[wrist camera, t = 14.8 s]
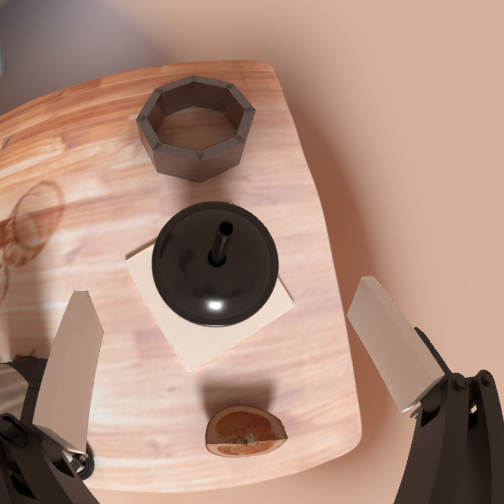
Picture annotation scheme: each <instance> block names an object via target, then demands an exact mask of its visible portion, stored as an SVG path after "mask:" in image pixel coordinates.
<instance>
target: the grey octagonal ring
mask: <svg viewBox="0 0 504 504" xmlns="http://www.w3.org/2000/svg"><path fill="white" fill-rule="evenodd" d="M190 106H198V107H203V108H207V109H212V110H216V111H221V112H223V113H224V114H225V115H226V117H227V118H228V119H229V121H230V122H231V123H232V125H233V126H234V127H235V129H236V130H237V134H236V137H233V138H231V139H228V140H226V141H223V142H221V143H218V144H216V145H213V146H211V147H209V148H206V149H204V150H202V151H196V150H191V149H187V148H182V147H178V146H173V145H168V144H164V143H161V142H160V141H159V139H158V137H157V135H156V134H155V133H156V131H157V129H158V128H159V126H160V124H161V122H162V120H163V118H164V117H165V116H167V115H170V114H172V113H175V112H177V111H180V110H182V109H185V108H188V107H190ZM254 113H255V109H254V108H253V107H252V105H251V104H250V103H249V102H248V101H247V99H246V98H245V97H244V96H243V95H242V94H241V92H240V91H239V90H238V89H237V88H236V87H235V86H234V84H232V83H227V82H223V81H218V80H213V79H208V78H203V77H198V76H191V77H188V78H185V79H182V80H179V81H176V82H173V83H170V84H168V85H165V86H162V87H159V88H157V89H155V90H154V91H153V93H152V94H151V96H150V98H149V99H148V101H147V102H146V104H145V105H144V107H143V109H142V110H141V112H140V114H139V115H138V117H137V119H136V121H137V125H138V129H139V133H140V137H141V140H142V143H143V145H144V147H145V149H146V151H147V153H148V155H149V157H150V159H151V160H152V162H153V164H154V166H155V168H156V170H157V172H158V173H162V174H166V175H171V176H175V177H179V178H183V179H187V180H191V181H195V182H199V183H200V182H202V181H204V180H206V179H208V178H211V177H213V176H215V175H217V174H219V173H221V172H223V171H226V170H228V169H230V168H232V167H234V166H237V165H239V162H240V158H241V155H242V152H243V148H244V145H245V142H246V139H247V135H248V133H249V129H250V126H251V123H252V120H253V116H254Z"/></svg>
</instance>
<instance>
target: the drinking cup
mask: <svg viewBox="0 0 504 504" xmlns="http://www.w3.org/2000/svg"><path fill="white" fill-rule="evenodd" d="M151 267H152V275H153V280H154V283H155V286H156V288H157V291H158V293H159V295H160V296H161V298H162V299H163V301H164V302H165V303H166V305H167V306H168V307H169V308H170V309H171V310H172V311H173V312H174V313H176V314H177V315H178V316H180V317H181V318H183V319H185V320H187V321H189V322H191V323H194V324H196V325H200V326H204V327H215V328H218V327H227V326H232V325H235V324H238V323H241V322H243V321H245V320H247V319H249V318H250V317H252V316H253V315H254V314H256V313H257V312H258V311H259V310H260V309H261V308H262V307H263V306H264V305H265V304H266V302H267V301H268V299H269V298H270V296H271V294H272V292H273V290H274V288H275V285H276V282H277V277H278V270H279V261H278V254H277V249H276V246H275V243H274V240H273V238H272V236H271V234H270V233H269V231H268V230H267V228H266V227H265V226H264V224H263V223H262V222H261V221H260V220H259V219H258V218H257V217H256V216H254V215H253V214H252V213H250V212H249V211H247V210H245V209H243V208H241V207H239V206H236V205H234V204H230V203H225V202H203V203H198V204H195V205H192V206H190V207H187V208H185V209H183V210H182V211H180V212H178V213H177V214H176V215H174V216H173V217H172V218H171V219H170V220H169V221H168V222H167V223H166V224H165V226H164V227H163V228H162V230H161V231H160V233H159V235H158V237H157V239H156V241H155V244H154V248H153V252H152V260H151Z"/></svg>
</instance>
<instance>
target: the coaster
mask: <svg viewBox="0 0 504 504" xmlns="http://www.w3.org/2000/svg"><path fill="white" fill-rule="evenodd" d="M230 204H231V203H230ZM153 248H154V244H153V245H151V246H149V247H148V248H146V249H144V250H143V251H141V252H139V253H137V254H136V255H134V256H132V257H131V258H129V259H127V260H126V261H124V262H125V264H126V266H127V268H128V270H129V272H130V274H131V276H132V278H133V280H134V282H135V284H136V286H137V288H138V290H139V292H140V293H141V295H142V297H143V299H144V301H145V303H146V304H147V306H148V308H149V310H150V312H151V313H152V315H153V317H154V319H155V320H156V322H157V324H158V325H159V327H160V329H161V330H162V332H163V334H164V335H165V337H166V339H167V340H168V342H169V344H170V345H171V347H172V348H173V350H174V351H175V353H176V355H177V356H178V358H179V359H180V361H181V362H182V364H183V365H184V367H185V368H186V370H187V371H188V373H189V372H191V371H193V370H195V369H196V368H198V367H200V366H202V365H203V364H205V363H207V362H208V361H210V360H212V359H213V358H215V357H217V356H218V355H220V354H222V353H223V352H225V351H227V350H228V349H230V348H231V347H233V346H235V345H236V344H238V343H239V342H241V341H243V340H244V339H246V338H247V337H249V336H251V335H252V334H254V333H255V332H257V331H258V330H260V329H261V328H263V327H264V326H266V325H267V324H269V323H270V322H272V321H273V320H275V319H276V318H278V317H279V316H281V315H282V314H284V313H285V312H287V311H288V310H290V309H291V308H293V307H294V306H295V305H294V303H293V301H292V300H291V298H290V296H289V295H288V293H287V292H286V290H285V288H284V287H283V285H282V284H281V282H280V280H279V279H278V277H277V282H276V285H275V288H274V290H273V292H272V294H271V296H270V298H269V299H268V301H267V302H266V304H265V305H264V306H263V307H262V308H261V309H260V310H259V311H258V312H257V313H256V314H254V315H253V316H252V317H250V318H249V319H247V320H245V321H243V322H241V323H238V324H235V325H232V326H227V327H218V328H215V327H204V326H200V325H196V324H194V323H191V322H189V321H187V320H185V319H183V318H181V317H180V316H178V315H177V314H176V313H174V312H173V311H172V310H171V309H170V308H169V307H168V306H167V305H166V303H165V302H164V301H163V299H162V298H161V296H160V295H159V293H158V291H157V288H156V286H155V283H154V280H153V275H152V267H151V260H152V252H153Z"/></svg>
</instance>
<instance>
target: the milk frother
mask: <svg viewBox="0 0 504 504" xmlns="http://www.w3.org/2000/svg"><path fill="white" fill-rule="evenodd" d="M38 361H39V359H38V358H36V357H33V356H24V357H21V358H20V359H19V360H15V361H12V362H6V363H0V415H1V414H3V413H10V414H12V415H13V416H15V417H16V418H17V419H18V420H20V417H21V413H22V408H23V404H24V400H25V396H26V392H27V389H28V384H29V381H30V380H31V379H30V377H31V374H32V371H33V368H34V366H35V365H36V363H37V362H38ZM72 458H73V460H72V461H71V462H70V464H71V465H72V467H73V468H74V470H75V471H77V469H78V468H79V467H84V469H83V470H81V471H80V472H78V473H77V474H78V476H79V477H80V479H81V480H82V481H83V480H85V479H87V478H89V477H90V476H91V475H92V473H93V471H94V460H93V458H92V456H91V454H90V453H89V451H88V450H87V449H86V454H82V453H81V455H79V454H75V455H73V456H72Z"/></svg>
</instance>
